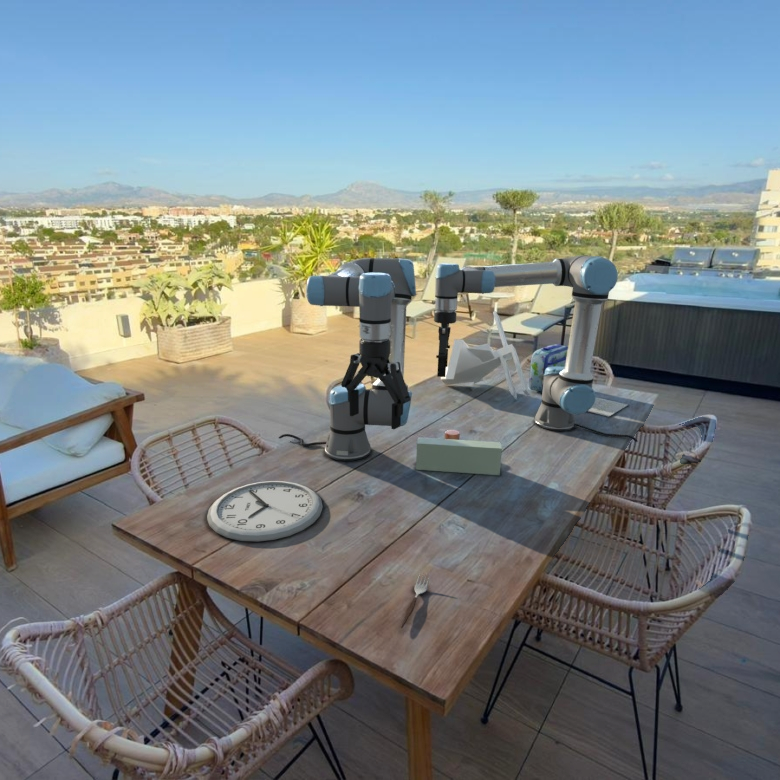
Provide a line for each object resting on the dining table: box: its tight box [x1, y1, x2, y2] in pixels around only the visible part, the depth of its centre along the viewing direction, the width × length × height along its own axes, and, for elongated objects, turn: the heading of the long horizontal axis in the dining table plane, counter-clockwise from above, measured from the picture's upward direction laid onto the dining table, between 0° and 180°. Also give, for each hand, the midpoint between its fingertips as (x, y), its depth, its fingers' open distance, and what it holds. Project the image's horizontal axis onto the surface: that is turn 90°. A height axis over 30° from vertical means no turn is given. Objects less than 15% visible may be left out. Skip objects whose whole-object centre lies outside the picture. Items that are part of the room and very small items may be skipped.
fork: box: [400, 570, 431, 629], centre depth 106 cm, size 3×16×2 cm, turn 160°
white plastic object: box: [440, 310, 531, 400], centre depth 245 cm, size 37×45×31 cm
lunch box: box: [528, 344, 568, 393], centre depth 247 cm, size 26×11×21 cm, turn 134°
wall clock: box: [206, 480, 324, 543], centre depth 140 cm, size 30×2×30 cm
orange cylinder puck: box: [444, 429, 461, 440], centre depth 180 cm, size 5×5×6 cm
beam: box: [415, 436, 503, 476], centre depth 164 cm, size 26×5×9 cm, turn 83°
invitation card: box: [587, 396, 629, 418], centre depth 226 cm, size 21×1×15 cm
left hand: (374, 421), depth 132 cm, fingers open, 13 cm apart
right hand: (442, 371), depth 183 cm, fingers open, 13 cm apart
